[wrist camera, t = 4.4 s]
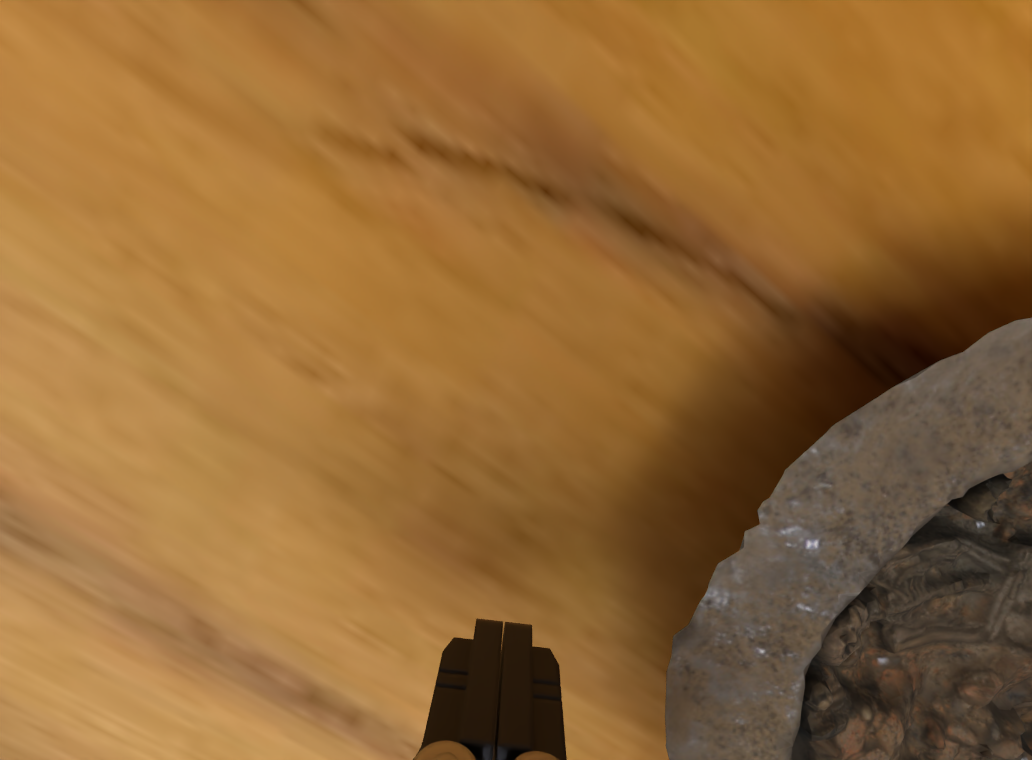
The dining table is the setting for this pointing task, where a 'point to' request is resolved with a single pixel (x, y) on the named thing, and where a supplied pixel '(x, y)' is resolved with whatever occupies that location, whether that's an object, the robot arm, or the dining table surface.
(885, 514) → the stone bowl
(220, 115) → the dining table surface
